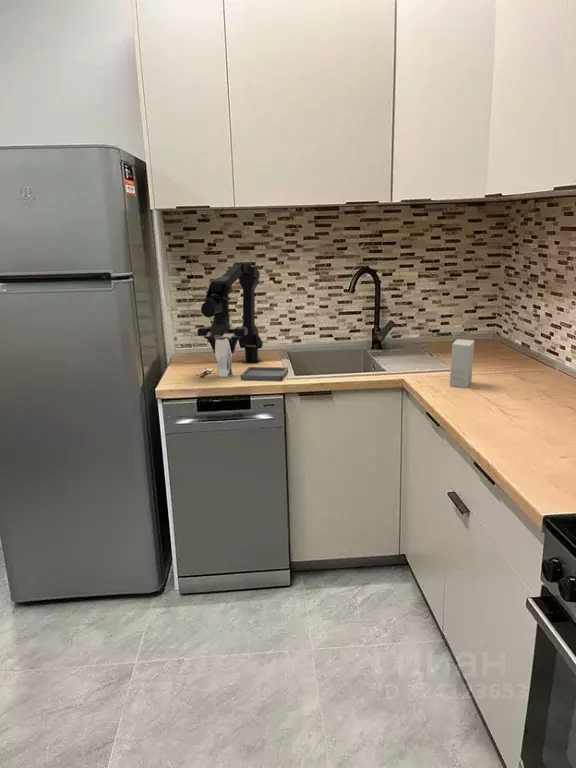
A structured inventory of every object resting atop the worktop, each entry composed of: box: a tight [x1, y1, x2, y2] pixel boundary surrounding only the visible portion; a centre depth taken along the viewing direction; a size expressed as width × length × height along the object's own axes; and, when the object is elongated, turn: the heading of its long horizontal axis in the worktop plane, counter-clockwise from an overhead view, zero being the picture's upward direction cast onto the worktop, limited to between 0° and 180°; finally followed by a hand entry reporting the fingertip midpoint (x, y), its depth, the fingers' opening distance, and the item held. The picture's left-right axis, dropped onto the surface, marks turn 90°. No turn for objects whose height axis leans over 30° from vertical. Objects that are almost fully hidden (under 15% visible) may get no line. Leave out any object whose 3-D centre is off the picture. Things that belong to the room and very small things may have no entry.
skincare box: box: [449, 338, 475, 389], centre depth 207 cm, size 8×7×16 cm
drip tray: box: [240, 366, 289, 382], centre depth 229 cm, size 13×16×2 cm
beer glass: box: [214, 336, 234, 378], centre depth 230 cm, size 7×7×15 cm
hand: (224, 353), depth 229 cm, fingers closed on beer glass, 7 cm apart
